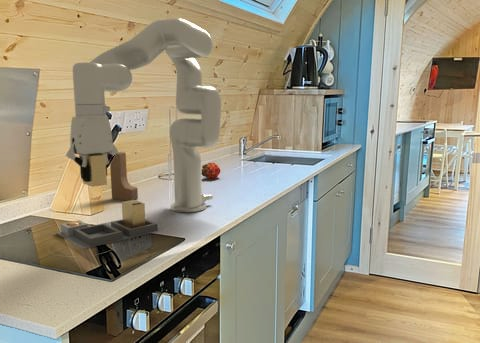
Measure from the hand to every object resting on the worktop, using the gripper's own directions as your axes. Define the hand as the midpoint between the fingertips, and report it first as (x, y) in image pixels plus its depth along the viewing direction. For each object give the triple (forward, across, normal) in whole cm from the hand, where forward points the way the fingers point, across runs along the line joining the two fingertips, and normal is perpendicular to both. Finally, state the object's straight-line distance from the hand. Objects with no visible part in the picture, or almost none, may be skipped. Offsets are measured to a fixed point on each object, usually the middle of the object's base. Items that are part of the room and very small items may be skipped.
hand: (94, 179), depth 123 cm
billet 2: (+16, -11, 0) cm, 20 cm away
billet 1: (+1, 0, 0) cm, 1 cm away
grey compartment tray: (+18, -5, -3) cm, 19 cm away
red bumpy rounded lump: (+18, -80, -52) cm, 97 cm away
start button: (+16, +3, -9) cm, 19 cm away
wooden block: (+18, -30, -42) cm, 55 cm away
